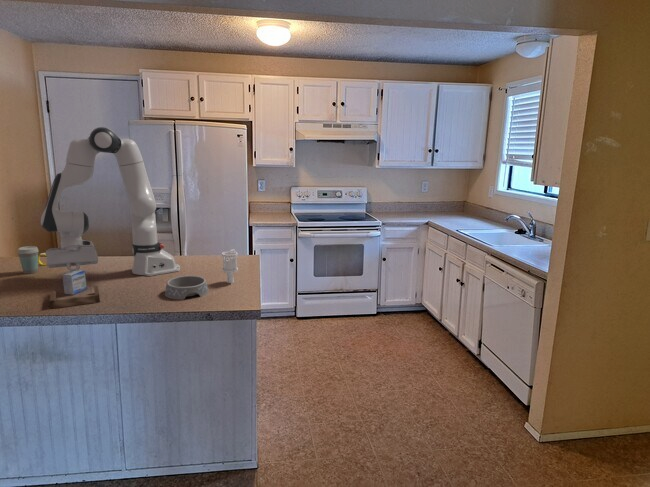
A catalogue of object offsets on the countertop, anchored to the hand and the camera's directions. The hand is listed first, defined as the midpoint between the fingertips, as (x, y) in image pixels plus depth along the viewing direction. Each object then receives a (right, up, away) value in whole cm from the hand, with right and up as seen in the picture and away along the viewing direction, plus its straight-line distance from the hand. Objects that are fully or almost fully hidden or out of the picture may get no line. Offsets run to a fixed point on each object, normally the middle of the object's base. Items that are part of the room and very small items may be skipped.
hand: (73, 273), depth 198 cm
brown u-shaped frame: (+11, -10, -18) cm, 23 cm away
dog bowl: (+52, -8, -5) cm, 53 cm away
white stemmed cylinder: (+68, -5, +9) cm, 68 cm away
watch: (-31, +2, +29) cm, 42 cm away
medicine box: (+6, -7, -8) cm, 13 cm away
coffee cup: (-30, -1, +16) cm, 34 cm away
